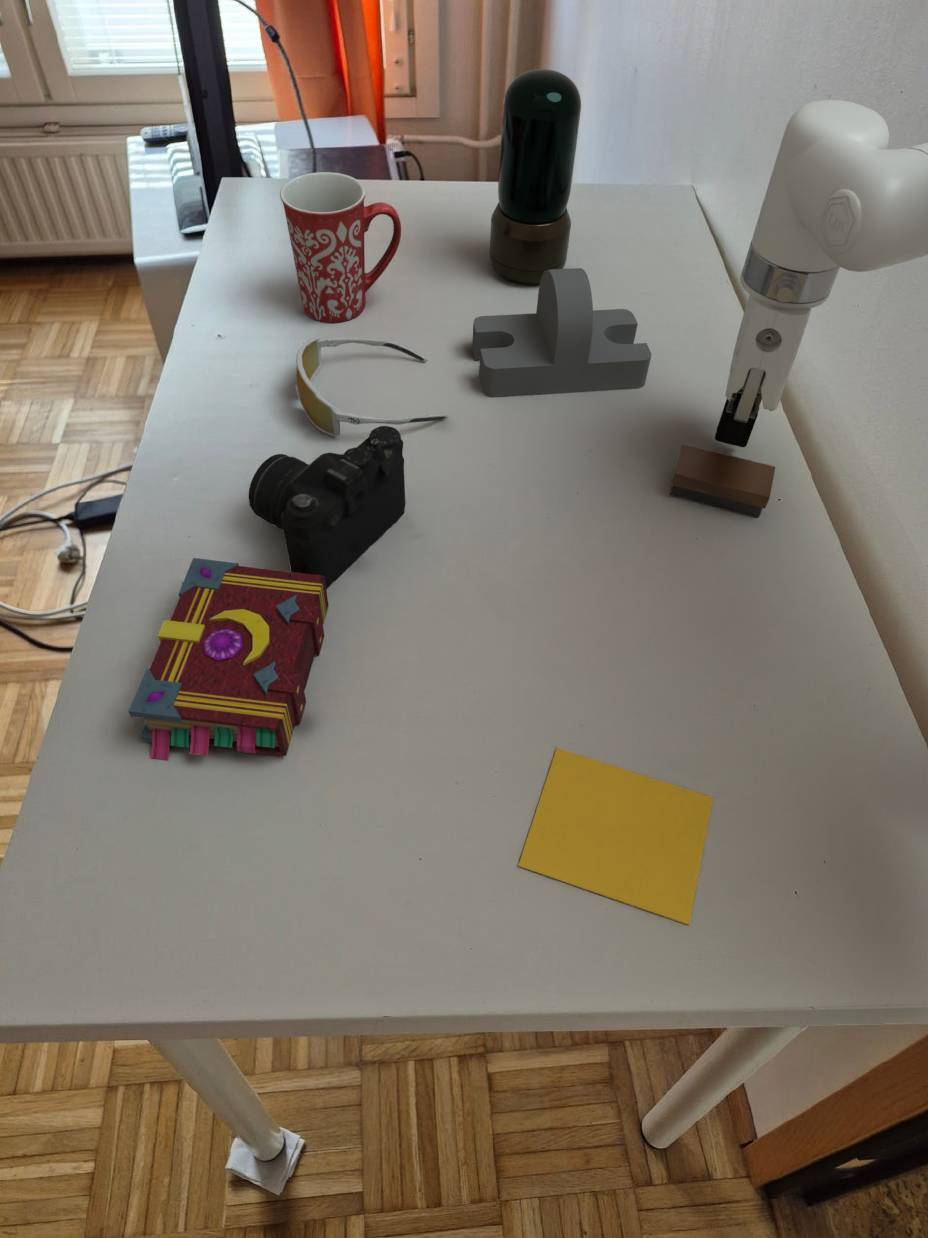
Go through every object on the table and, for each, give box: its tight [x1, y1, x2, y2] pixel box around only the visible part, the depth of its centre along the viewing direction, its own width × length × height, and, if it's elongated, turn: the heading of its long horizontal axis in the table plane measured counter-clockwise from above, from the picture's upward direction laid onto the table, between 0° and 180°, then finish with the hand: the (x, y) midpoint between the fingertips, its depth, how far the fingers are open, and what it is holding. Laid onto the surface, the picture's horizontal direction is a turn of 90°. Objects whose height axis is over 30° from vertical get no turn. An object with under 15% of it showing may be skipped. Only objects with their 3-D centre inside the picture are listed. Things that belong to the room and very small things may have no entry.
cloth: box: [517, 747, 714, 926], centre depth 63 cm, size 12×10×1 cm
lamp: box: [488, 68, 582, 285], centre depth 102 cm, size 10×10×22 cm
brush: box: [669, 443, 776, 519], centre depth 85 cm, size 9×4×3 cm, turn 71°
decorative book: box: [127, 557, 329, 761], centre depth 69 cm, size 11×16×5 cm
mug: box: [279, 171, 402, 324], centre depth 99 cm, size 13×9×14 cm
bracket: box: [471, 267, 652, 398], centre depth 94 cm, size 10×18×11 cm, turn 98°
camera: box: [248, 425, 407, 590], centre depth 77 cm, size 14×11×10 cm
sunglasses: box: [295, 336, 450, 438], centre depth 92 cm, size 14×15×5 cm
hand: (730, 439), depth 89 cm, fingers closed
